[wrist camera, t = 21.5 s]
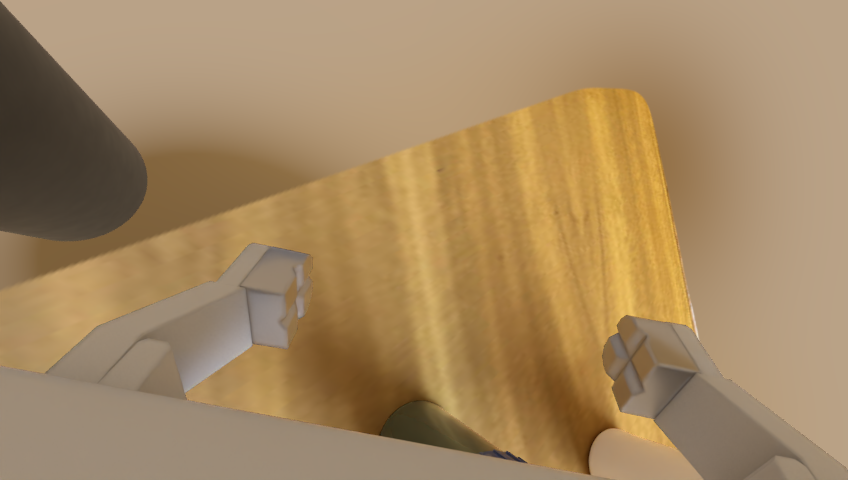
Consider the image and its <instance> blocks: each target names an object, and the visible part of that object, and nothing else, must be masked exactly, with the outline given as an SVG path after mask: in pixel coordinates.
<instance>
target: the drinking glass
mask: <svg viewBox="0 0 848 480" xmlns="http://www.w3.org/2000/svg"><path fill="white" fill-rule="evenodd" d="M589 470H590V474H591V475H593V476H598V477H604V478H609V479H615V480H704V479H703V478H702V477H701V476H700V475H699V473H698V472H697V471H696V470H695V469H694V467H693V466H692V465H691V464H690V463H689V462H688V460H687V459H686V458H685V457H684V456H683V455H682V453H681V452H680V451H679V450H678V449H676V448H673V447H670V446H666V445H663V444H660V443H657V442H654V441H651V440H648V439H645V438H642V437H639V436H636V435H633V434H631V433H629V432H626V431H624V430H621V429H617V428H610V429H607V430H604V431H603V432H601V433H600V434H599V435H598V436H597V437H596V439H595V440H594V442H593V444H592V446H591V449H590V454H589Z"/></svg>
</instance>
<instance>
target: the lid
mask: <svg viewBox="0 0 848 480" xmlns="http://www.w3.org/2000/svg"><path fill="white" fill-rule="evenodd" d="M479 454H480V455H485V456H490V457H496V458H501V459H506V460H512V461H517V462H522V463H527V462H525V461H524V460H522V459H521V458H520V457H518V458H517V457H516V456H514V455H513V454H511V453H510V452H508V451H506V452H503V451H497V450H495V449H493V451H486V452H480V453H479Z"/></svg>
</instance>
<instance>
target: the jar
mask: <svg viewBox="0 0 848 480" xmlns="http://www.w3.org/2000/svg"><path fill="white" fill-rule="evenodd" d="M380 436H383V437H388V438H394V439H399V440H404V441H410V442H415V443H420V444H426V445H431V446H437V447H442V448H447V449H453V450H458V451H463V452H469V453H474V454H479V453H480V452H486V451H493V449H495V450H497V451H502V450H501V449H499V448H498V447H496V446H495V445H493V444H492V443H491V442H489V441H488V440H486V439H485V438H483V437H482V436H481V435H479V434H478V433H476V432H475V431H474V430H472V429H471V428H469V427H468V426H466V425H465V424H464V423H462V422H461V421H459V420H458V419H457V418H455V417H454V416H452V415H451V414H449V413H448V412H447V411H445V410H444V409H442V408H441V407H440V406H438V405H436V404H435V403H432V402H429V401H414V402H410V403H407V404H405V405H403V406H402V407H400V408H399V409H397V410H396V411H395V412H394V413H393V414H392V415H391V416H390V417H389V419H388V420H387V422H386V423H385V425H384V427H383V429H382V431H381V434H380Z"/></svg>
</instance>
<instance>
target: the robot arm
mask: <svg viewBox="0 0 848 480" xmlns="http://www.w3.org/2000/svg"><path fill="white" fill-rule="evenodd" d="M312 268H313V257H312V256H311V255H310V254H305V253H300V252H296V251H291V250H286V249H282V248H277V247H271V246H266V245H261V244H257V243H252V244H249V245H248V246H247V247H246V248H245V249H244V250H243V251H242V253H241V254H240V255H239V256H238V257H237V258H236V260H235V261H234V262H233V263H232V264H231V265H230V266H229V268H228V269H227V270H226V271H225V272H224V273H223V275H222V276H221V277H220V278H219V279H218V280H217V281H216V282H212V281H209V282H206V283H204V284H201V285H199V286H196V287H194V288H191V289H189V290H186V291H184V292H181V293H179V294H176V295H174V296H171V297H169V298H166V299H164V300H161V301H159V302H156V303H154V304H151V305H149V306H146V307H144V308H141V309H139V310H136V311H134V312H131V313H129V314H126V315H124V316H121V317H119V318H116V319H114V320H111V321H109V322H106V323H104V324H101V325H99V326H97V327H96V328H94V329H93V330H92V331H91V332H90V333H89V334H88V335H87V336H86V337H84V338H83V339H82V340H81V341H80V342H79V343H78V344H77V345H76V346H74V347H73V348H72V349H71V350H70V351H69V352H68V353H67V354H66V355H65V356H63V357H62V358H61V359H60V360H59V361H58V362H57V363H56V364H55V365H53V366H52V367H51V368H50V369H49V370H48V371H47V372H46V373H45V374H43V373H38V372H32V371H27V370H21V369H16V368H10V367H5V366H0V480H615V479H609V478H604V477H598V476H593V475H588V474H582V473H577V472H571V471H566V470H560V469H555V468H549V467H544V466H539V465H533V464H528V463H522V462H517V461H512V460H506V459H501V458H496V457H490V456H485V455H480V454H474V453H469V452H463V451H458V450H453V449H447V448H442V447H437V446H431V445H426V444H420V443H415V442H410V441H404V440H399V439H394V438H388V437H383V436H377V435H372V434H367V433H361V432H356V431H350V430H345V429H340V428H334V427H329V426H323V425H318V424H313V423H307V422H302V421H296V420H291V419H286V418H280V417H275V416H270V415H264V414H259V413H253V412H248V411H243V410H237V409H232V408H226V407H221V406H216V405H210V404H205V403H199V402H194V401H189V400H187V398H186V395H185V393H186V392H187V391H189V390H190V389H192V388H193V387H194V386H196V385H197V384H199V383H200V382H202V381H203V380H204V379H206V378H207V377H209V376H210V375H212V374H213V373H214V372H216V371H217V370H219V369H220V368H222V367H223V366H224V365H226V364H227V363H229V362H230V361H232V360H233V359H234V358H236V357H237V356H239V355H240V354H242V353H243V352H244V351H246V350H247V349H249V348H250V347H252V344H257V345H263V346H270V347H276V348H282V349H288V347H289V345H290V343H291V341H292V339H293V337H294V335H295V334H296V332H297V330H298V319H300V318H302V317H303V316H305V313H306V311H307V309H308V307H309V304H310V300H311V297H312V290H313V281H312V279H311V278H310V277H309V274H310V272H311V270H312ZM617 329H618V332H619V333H617V334H615V335H613V336H611V337H609V338H608V340H607V342H606V344H605V345H604V349H603V355H602V358H603V366H604V368H605V371H606V373H607V374H608V375H609V376H610V377H611V378H612V379H613V380H614V381H615V382H614V384H613V386H612V391H613V394H614V396H615V399H616V402H617V404H618V407H619V410H620V412H624V413H628V414H633V415H637V416H642V417H647V418H651V419H655V420H654V422H655V423H656V424H657V425H658V426H659V428H660V429H661V430H662V431H663V432H664V433H665V435H666V436H667V437H668V438H669V439H670V440H671V442H672V443H673V444H674V445H675V446H676V448H677V449H678V450H679V451H680V452H681V453H682V455H683V456H684V457H685V458H686V459H687V460H688V462H689V463H690V464H691V465H692V466H693V467H694V469H695V470H696V471H697V472H698V473H699V475H700V476H701V477H702V478H703V479H704V480H848V470H847V468H846V467H845V466H843V465H842V464H841V463H839V462H838V461H837V460H835V459H834V458H833V457H832V456H830V455H829V454H828V453H826V452H825V451H824V450H822V449H821V448H820V447H818V446H817V445H816V444H814V443H813V442H812V441H811V440H809V439H808V438H807V437H805V436H804V435H803V434H801V433H800V432H799V431H797V430H796V429H795V428H793V427H792V426H791V425H789V424H788V423H787V422H786V421H784V420H783V419H781V418H780V417H779V416H778V415H776V414H775V413H774V412H772V411H771V410H770V409H768V408H767V407H766V406H765V405H763V404H762V403H761V402H759V401H758V400H757V399H755V398H754V397H753V396H751V395H750V394H748V393H747V392H746V391H745V390H743V389H742V388H741V387H740V386H738V385H737V384H736V383H734V382H733V381H732V380H730V379H725V378H724V377H723V376H722V374H721V373H720V371H719V370H718V368H717V367H716V365H715V364H714V362H713V361H712V359H711V358H710V356H709V355H708V353H707V352H706V350H705V349H704V347H703V346H702V344H701V343H700V341H699V340H698V338H697V337H696V335H695V334H694V332H693V331H692V329H690V328H689V327H687V326H686V325H681V324H675V323H670V322H661V321H655V320H650V319H645V318H639V317H634V316H628V315H626V316H624V317H623V318H621V320H620V321H619V323H618V324H617Z"/></svg>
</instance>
